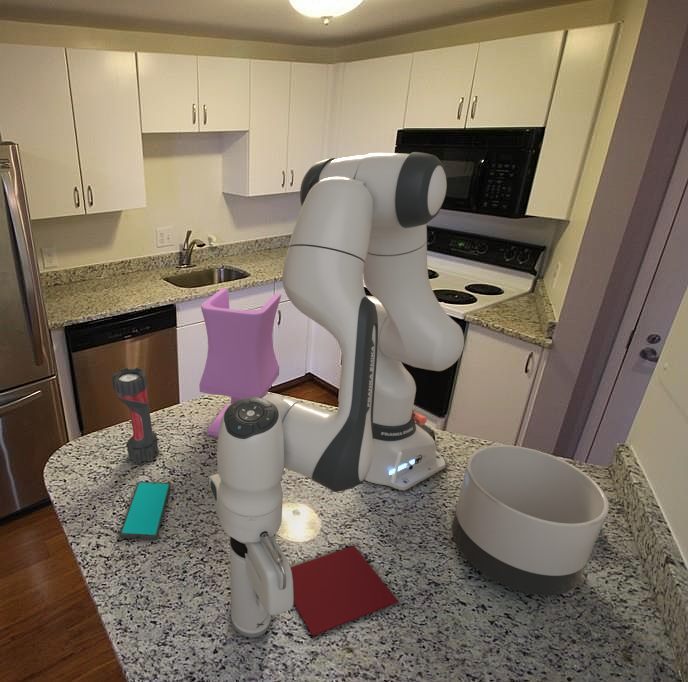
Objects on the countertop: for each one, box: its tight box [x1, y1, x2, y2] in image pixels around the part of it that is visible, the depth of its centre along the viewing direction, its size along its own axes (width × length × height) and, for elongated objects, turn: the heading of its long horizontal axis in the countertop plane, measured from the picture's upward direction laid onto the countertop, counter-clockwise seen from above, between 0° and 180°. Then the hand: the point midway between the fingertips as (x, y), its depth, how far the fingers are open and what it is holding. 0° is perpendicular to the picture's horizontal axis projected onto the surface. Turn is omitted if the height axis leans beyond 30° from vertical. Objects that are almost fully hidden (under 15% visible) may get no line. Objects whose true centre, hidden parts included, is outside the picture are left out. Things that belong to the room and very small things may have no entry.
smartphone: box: [119, 481, 171, 541], centre depth 96 cm, size 7×1×15 cm
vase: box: [198, 287, 282, 438], centre depth 116 cm, size 16×16×35 cm
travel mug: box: [229, 533, 277, 638], centre depth 70 cm, size 6×7×20 cm
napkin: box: [290, 545, 399, 637], centre depth 79 cm, size 16×12×1 cm
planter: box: [451, 444, 610, 597], centre depth 80 cm, size 19×19×18 cm
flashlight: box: [111, 366, 160, 464], centre depth 108 cm, size 8×8×23 cm
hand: (249, 578), depth 71 cm, fingers open, 8 cm apart
